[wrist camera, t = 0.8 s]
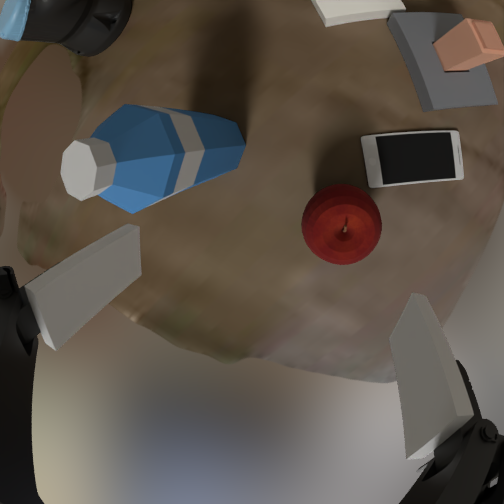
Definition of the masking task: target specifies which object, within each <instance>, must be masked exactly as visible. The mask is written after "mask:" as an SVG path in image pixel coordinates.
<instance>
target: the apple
mask: <svg viewBox="0 0 504 504" xmlns="http://www.w3.org/2000/svg"><path fill="white" fill-rule="evenodd" d="M301 225H302V233H303V236H304V239H305V242H306V244H307V245H308V247H309V248H310V249H311V251H312V252H313V253H314V254H316V255H317V256H318V257H319V258H321V259H323V260H325V261H327V262H330V263H333V264H339V265H346V264H352V263H356V262H358V261H360V260H362V259H363V258H365V257H366V256H368V255H369V254H370V253H371V252H372V251H373V249H374V248H375V246H376V245H377V243H378V241H379V238H380V235H381V231H382V222H381V217H380V212H379V210H378V207H377V205H376V204H375V202H374V201H373V200H372V198H371V197H370V196H369V195H368V194H367V193H366V192H364V191H363V190H361V189H360V188H358V187H355V186H352V185H348V184H335V185H331V186H328V187H325V188H323V189H321V190H320V191H319V192H317V193H316V194H315V195H314V196H313V197H312V198H311V199H310V201H309V202H308V204H307V206H306V207H305V210H304V213H303V217H302V224H301Z"/></svg>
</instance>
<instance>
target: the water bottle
mask: <svg viewBox="0 0 504 504" xmlns="http://www.w3.org/2000/svg"><path fill="white" fill-rule="evenodd" d="M245 146H246V144H245V142H244V139H243V137H242V135H241V133H240V130H239V128H238V126H237V123H236V122H233V121H230V120H227V119H225V118H222V117H219V116H216V115H212V114H206V113H200V112H194V111H187V110H180V109H172V108H163V107H154V106H143V105H129V104H124V105H123V106H122V107H121V108H119V109H118V110H117V111H116V112H114V113H113V114H112V115H111V116H110V117H108V118H107V119H106V120H105V121H104V122H103V123H102V124H100V125H99V126H98V127H97V129H96V130H95V131H94V133H93V134H92V136H91V137H90V138H87V139H80V140H75V141H74V142H73V143H72V144H71V145H70V146H69V147H68V148H67V149H66V150H65V151H64V152H63V158H62V166H61V176H62V179H63V182H64V185H65V187H66V190H67V193H68V194H70V195H72V196H73V197H75V198H77V199H79V200H80V201H82V200H85V199H87V198H90V197H92V196H95V195H99V196H100V197H102V198H103V199H105V200H107V201H109V202H111V203H113V204H114V205H116V206H118V207H120V208H122V209H124V210H126V211H128V212H130V213H132V214H133V213H135V212H137V211H140V210H142V209H144V208H146V207H148V206H150V205H152V204H154V203H157V202H159V201H161V200H163V199H165V198H168V197H170V196H172V195H174V194H177V193H179V192H181V191H184V190H186V189H188V188H191V187H193V186H196V185H198V184H200V183H203V182H205V181H208V180H210V179H213V178H215V177H218V176H220V175H222V174H224V173H227V172H229V171H231V170H234V169H236V168H237V167H238V164H239V162H240V159H241V156H242V154H243V151H244V149H245Z"/></svg>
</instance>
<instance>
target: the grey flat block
mask: <svg viewBox="0 0 504 504" xmlns="http://www.w3.org/2000/svg"><path fill="white" fill-rule="evenodd" d="M463 20H464V19H463V17H462V15H461V14H452V13H435V12H403V13H392V15H391V17H390V19H389V20H388V22H387V25H388V27H389V29H390V31H391V33H392V35H393V37H394V39H395V41H396V43H397V45H398V47H399V50H400V52H401V54H402V56H403V58H404V61H405V63H406V66H407V68H408V70H409V73H410V75H411V78H412V81H413V83H414V86H415V89H416V92H417V94H418V97H419V100H420V103H421V106H422V110H423V112H427V111H434V110H442V109H451V108H461V107H472V106H486V105H496V104H498V102H497V99H496V95H495V92H494V89H493V86H492V83H491V80H490V77H489V74H488V72H487V69H486V66H485V64H482V65H479V66H476V67H474V68H471V69H469V70H466V71H463V72H449V73H445V72H444V70H443V67H442V65H441V62H440V60H439V58H438V55H437V53H436V51H435V48H434V46H433V44H434V43H435V42H436V41H437V40H439V39H440V38H441V37H442V36H444V35H445V34H446V33H447V32H449V31H450V30H451V29H453V28H454V27H455V26H457V25H458V24H459V23H460V22H462V21H463Z"/></svg>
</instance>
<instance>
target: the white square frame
mask: <svg viewBox="0 0 504 504" xmlns="http://www.w3.org/2000/svg"><path fill="white" fill-rule="evenodd" d="M311 1H312V3H313V5H314V6H315V8H316V10H317V12H318V13H319V15H320V17H321V19H322V21H323V23H324V25H325V26H326V27H328V26H333V25H338V24H344V23H350V22H356V21H363V20H371V19H381V18H390V17H391V15H392V13H403V12H405V11H406V8H405V6H404V4H403V3H402V1H401V0H311Z"/></svg>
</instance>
